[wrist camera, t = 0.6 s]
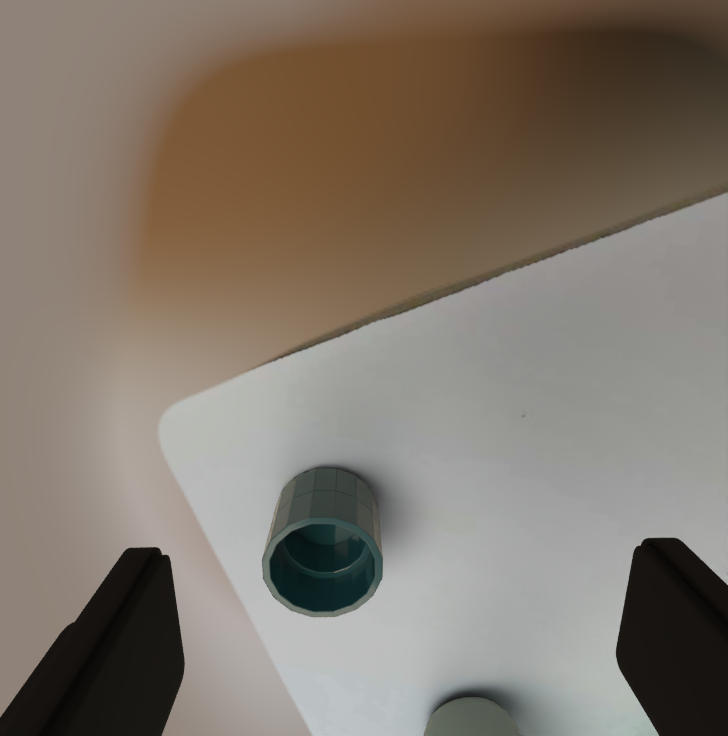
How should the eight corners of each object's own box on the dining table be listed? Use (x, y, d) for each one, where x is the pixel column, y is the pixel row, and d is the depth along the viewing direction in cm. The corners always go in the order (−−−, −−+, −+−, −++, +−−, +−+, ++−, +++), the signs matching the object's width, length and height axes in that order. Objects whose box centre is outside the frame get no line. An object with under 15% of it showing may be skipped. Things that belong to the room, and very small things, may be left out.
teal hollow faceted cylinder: (275, 464, 29) (259, 518, 24) (378, 463, 29) (384, 517, 24) (280, 550, 31) (265, 618, 26) (376, 549, 31) (381, 616, 26)
